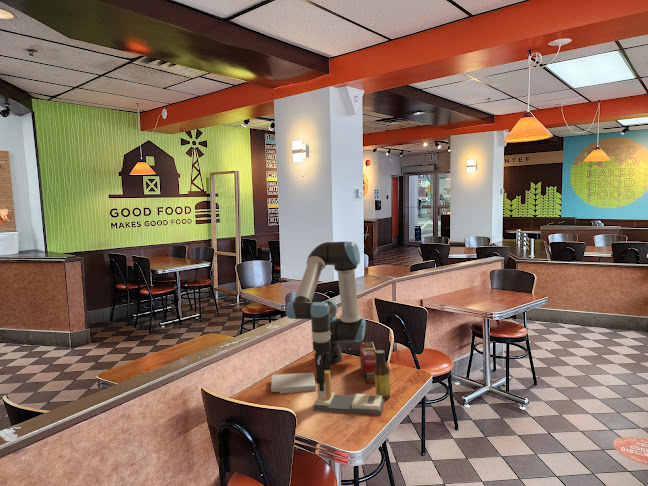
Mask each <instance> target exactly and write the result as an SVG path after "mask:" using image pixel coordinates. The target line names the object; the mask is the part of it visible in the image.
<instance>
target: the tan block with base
mask: <svg viewBox="0 0 648 486" xmlns="http://www.w3.org/2000/svg"><path fill="white" fill-rule="evenodd" d="M330 373H331V370H330V371H328V370H325V380H324V381H325V385H326V398H319V383H316V385H317V396H318V397H317V398H316V399H315V401H314V406H315V405H322V406H330V404H331V402H332V400H333V398H334V396H335V395H336V392H334V391H333V392H332V383H331V382H332V378H331V375H332V374H331V375H330Z"/></svg>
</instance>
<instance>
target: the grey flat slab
mask: <svg viewBox="0 0 648 486" xmlns="http://www.w3.org/2000/svg"><path fill="white" fill-rule="evenodd" d="M315 379H316V378H315V372H301V373H300V372H299V373H284V374H283V373H282V374H272V375H271V383H270V384H271V385H270V386H271V387H270V391H271V392H272V393H275V392H278V393H280V394H282V395H283V394H286V393H287V394H290V393H291V394H292V393H303V392H304V393H305V392H311V391H313V392H315V391H317V388H316V387H317V386H316V385H317V383H316V380H315Z"/></svg>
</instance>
